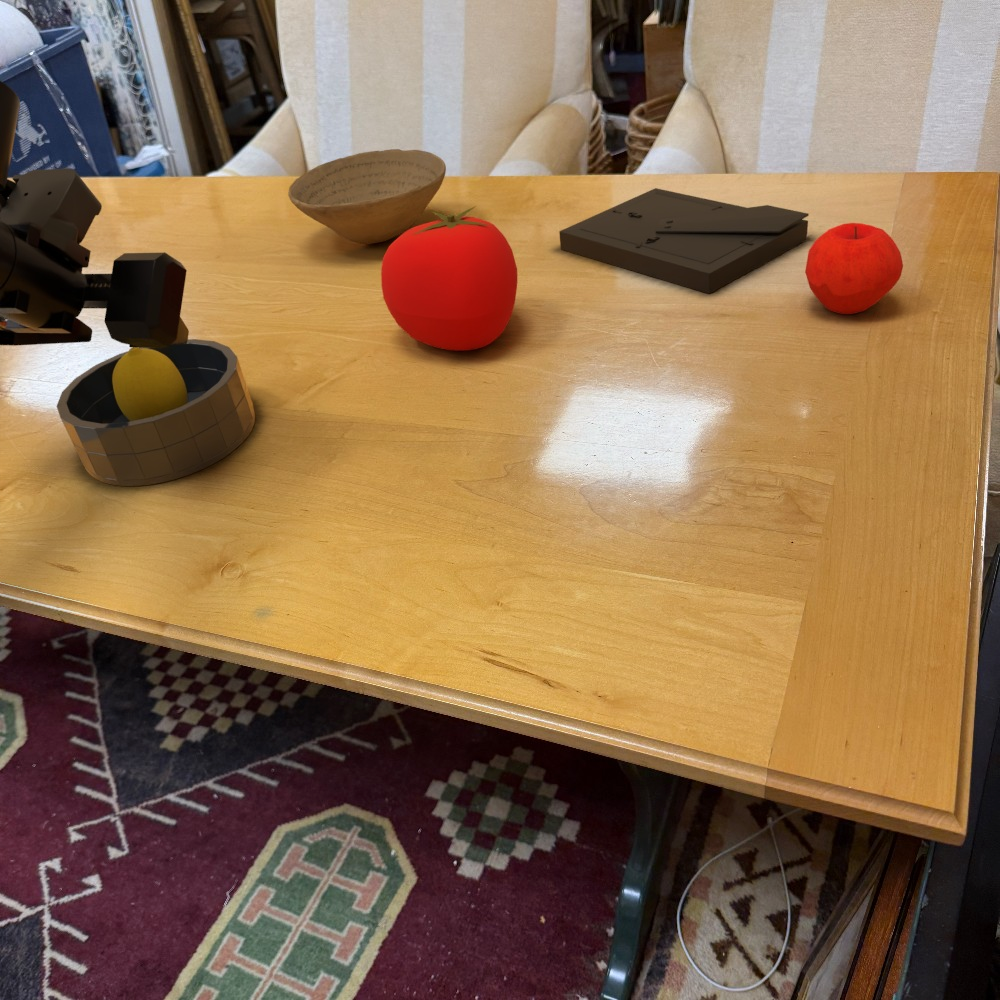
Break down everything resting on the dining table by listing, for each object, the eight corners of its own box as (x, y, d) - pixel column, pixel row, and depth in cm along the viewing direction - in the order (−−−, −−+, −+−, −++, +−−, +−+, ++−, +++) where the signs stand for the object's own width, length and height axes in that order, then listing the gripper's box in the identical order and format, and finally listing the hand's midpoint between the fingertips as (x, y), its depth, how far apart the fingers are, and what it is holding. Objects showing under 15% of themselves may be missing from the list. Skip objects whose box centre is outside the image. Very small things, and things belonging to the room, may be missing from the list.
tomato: (428, 385, 80) (404, 261, 73) (378, 329, 90) (353, 216, 84) (552, 343, 83) (539, 221, 77) (490, 294, 94) (474, 183, 87)
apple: (915, 306, 80) (928, 225, 76) (851, 336, 78) (861, 253, 73) (844, 280, 86) (853, 203, 82) (782, 307, 83) (788, 228, 79)
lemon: (189, 407, 81) (158, 325, 76) (207, 433, 77) (175, 348, 72) (127, 430, 79) (92, 348, 74) (142, 457, 75) (105, 372, 70)
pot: (70, 502, 72) (40, 444, 69) (98, 412, 84) (74, 359, 80) (254, 462, 73) (233, 404, 70) (256, 380, 85) (239, 326, 82)
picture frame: (806, 240, 95) (655, 205, 109) (808, 213, 93) (655, 181, 107) (709, 293, 88) (560, 249, 101) (709, 265, 86) (558, 224, 99)
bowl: (353, 282, 101) (337, 211, 96) (278, 246, 113) (260, 182, 109) (484, 229, 109) (474, 162, 104) (400, 201, 121) (388, 140, 117)
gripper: (120, 135, 57) (252, 238, 72) (-109, 149, 62) (58, 243, 77) (93, 306, 56) (233, 375, 70) (-139, 306, 61) (37, 370, 76)
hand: (137, 336), depth 73 cm, fingers open, 9 cm apart
